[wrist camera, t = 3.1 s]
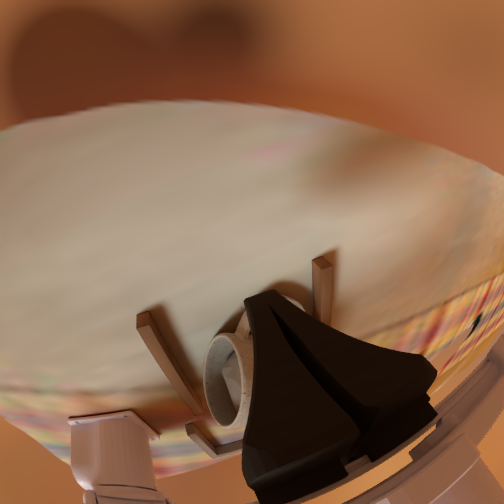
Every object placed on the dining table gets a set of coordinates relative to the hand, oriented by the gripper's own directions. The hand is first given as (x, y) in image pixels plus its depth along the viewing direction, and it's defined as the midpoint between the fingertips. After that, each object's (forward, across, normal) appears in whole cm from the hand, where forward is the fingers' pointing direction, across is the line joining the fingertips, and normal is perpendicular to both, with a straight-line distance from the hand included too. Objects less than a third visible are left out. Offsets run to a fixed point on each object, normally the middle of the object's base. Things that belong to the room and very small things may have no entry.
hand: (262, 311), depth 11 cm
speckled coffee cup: (+8, 0, +10) cm, 13 cm away
